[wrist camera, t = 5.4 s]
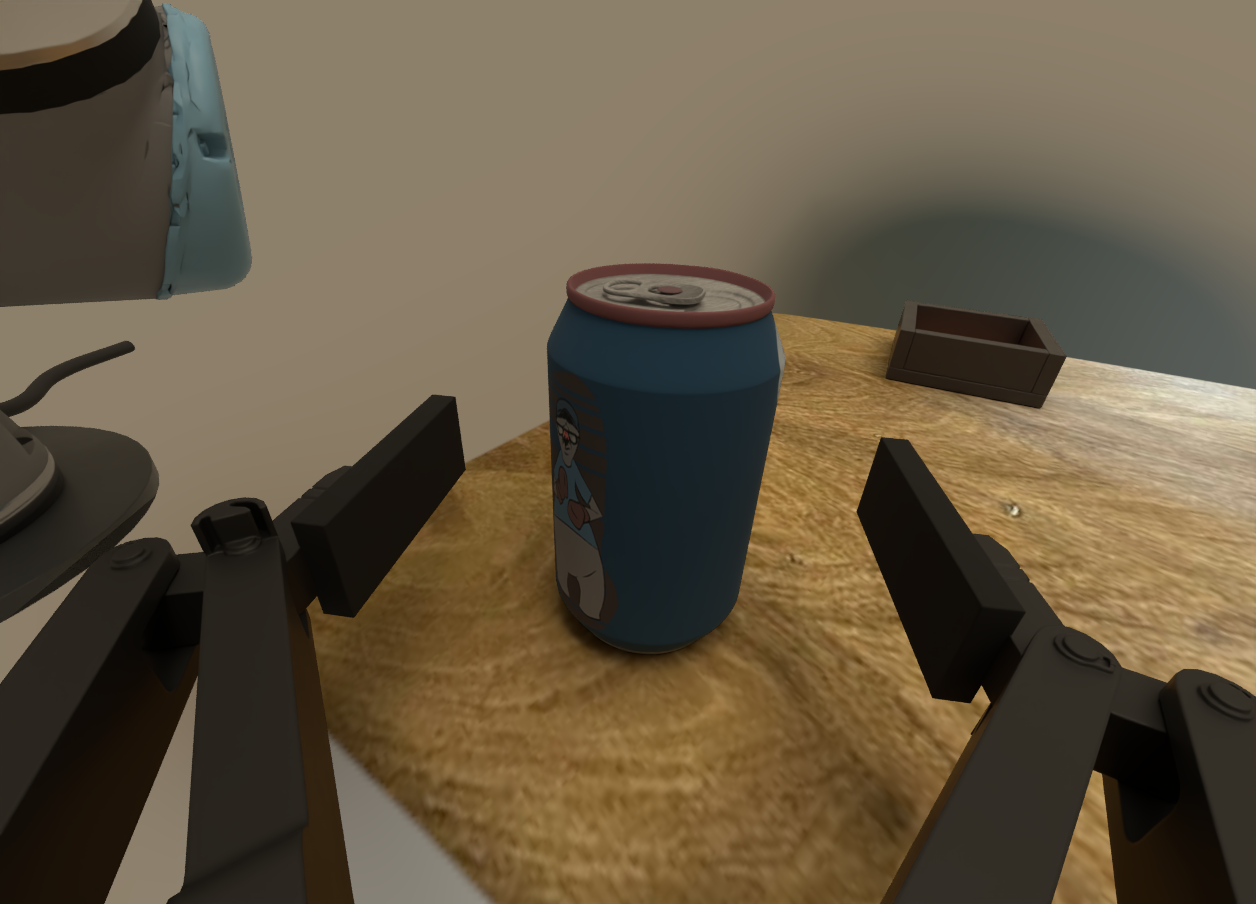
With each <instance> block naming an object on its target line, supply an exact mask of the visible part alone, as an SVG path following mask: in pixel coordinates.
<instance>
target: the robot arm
mask: <svg viewBox="0 0 1256 904" xmlns="http://www.w3.org/2000/svg"><path fill="white" fill-rule="evenodd" d="M251 263H252V257H251V248H250V242H249V236H248V230H247V224H246V218H245V213H244V207H243V202H242V196H241V191H240V186H239V180H238V175H237V169H236V164H235V158H234V153H233V148H232V143H231V138H230V133H229V128H228V123H227V117H226V111H225V106H224V101H223V96H222V91H221V86H220V81H219V76H218V71H217V66H216V61H215V57H214V53H213V49H212V45H211V40H210V35H209V31H208V29H207V27H206V26H205V24H204V23H203V22H202V21H201V20H200V19H198V18H197V17H196V16H194V15H192V14H187V13H184V12H182V11H179V10H178V9H177V8H175V7H171V4H162V6H158V7H154V6H153V4H152V1H151V0H0V307H6V306H25V305H44V304H63V303H82V302H101V301H119V300H136V299H137V300H138V299H158V300H161V299H168V298H170V297H171V296H172V295H179V294H187V293H195V292H204V291H212V290H220V289H227V288H230V287H232V286H235V284H237V283H239V282H241V281H242V280H243V279H244V278H245V277H246V275H247V274H248V272H249V271H250V268H251ZM134 350H135V347H134V345H133V344H132V343H131V342H129V341H123V342H121V343H118V344H115V345H112V346H109V347H106V348H103V349H100V350H97V351H94V352H91V353H88V354H85V355H82V356H79V357H76V358H74V359H71V360H69V361H66V362H64V363H61V364H59V365H57V366H55V367H53V368H51V369H49V370H47V371H46V372H44V373H42V374H41V375H40V376H39V377H38V378H37V379H35V380H34V381H33V382H32V383H31V384H30V386H29V387H28V388H27V389H26V390H25V391H24V392H23V393H22V394H20V395H19V396H17V397H15V398H13V399H11V400H8V401H6V402H2V403H0V545H1V544H2V543H4V542H5V541H7V540H9V539H10V538H12V537H13V536H15V535H16V534H18V533H19V532H20V531H22V530H23V529H25V528H26V527H27V526H29V525H30V524H31V523H32V522H34V521H35V520H36V519H37V518H38V517H40V516H41V515H42V514H43V513H44V512H45V511H46V510H47V509H48V508H49V507H50V506H51V505H52V504H53V503H54V501H55V500H56V499H57V497H58V496H59V494H60V492H61V491H62V488H63V485H64V476H63V473H62V471H61V470H60V468H59V466H58V465H57V463H56V462H55V460H54V458H53V457H52V455H51V453H50V452H49V450H48V449H47V447H46V446H45V445H44V444H42V443H41V442H40V441H39V440H38V439H37V438H36V437H35V436H34V435H32V434H31V433H30V432H29V431H27V430H26V429H24V428H22V427H19V426H18V425H17V424H16V423H14V421H13V420H11V419H10V418H9V417H10V416H13V415H17V414H19V413H22V412H24V411H26V410H28V409H30V408H31V407H33V406H34V405H35V404H37V403H38V402H39V401H40V400H41V399H42V398H43V397H44V396H45V394H46V393H47V392H48V391H49V389H50V388H51V387H52V386H53V385H54V384H56V383H57V382H58V381H60V380H62V379H64V378H66V377H68V376H70V375H72V374H74V373H76V372H78V371H81V370H83V369H86V368H88V367H91V366H94V365H96V364H99V363H102V362H105V361H108V360H110V359H113V358H116V357H119V356H122V355H124V354H127V353H130V352H132V351H134ZM465 470H466V469H465V462H464V455H463V448H462V442H461V434H460V427H459V419H458V412H457V405H456V398H455V397H452V396H442V395H431V397H429V398H428V399H427V400H426V401H425V402H424V403H423V404H421V405H420V406H419V407H418V408H417V409H416V410H415V411H414V412H412V413H411V414H410V415H409V416H408V417H407V418H406V419H405V420H404V421H402V422H401V423H400V424H399V425H398V426H397V427H396V428H395V429H394V430H392V431H391V432H390V433H389V434H388V435H387V436H386V437H385V438H384V439H383V440H381V441H380V442H379V443H378V444H377V445H376V446H375V447H373V448H372V449H371V450H370V451H369V452H368V453H367V454H366V455H364V456H363V457H362V458H361V459H360V460H359V461H358V462H357V463H356V464H354V465H353V466H343V467H341V468H339V469H337V470H335V471H333V472H331V473H329V474H327V475H325V476H324V477H323V478H322V479H321V480H320V481H318V482H317V483H316V484H315V485H314V486H313V488H312V489H309V490H308V491H307V492H305V493H304V494H303V495H302V497H301V498H298V499H297V500H296V501H295V502H294V503H293V504H291V505H290V506H289V507H288V508H287V509H286V510H284V511H283V512H282V513H281V514H280V515H279V516H277V517H276V518H275V519H274V520H273V521H272V519H271V516H270V514H269V511H268V509H267V506H266V504H265V503H264V501H262V500H259V499H257V498H238V499H231V500H228V501H224V502H221V503H218V504H216V505H214V506H212V507H210V508H208V509H206V510H204V511H202V512H201V513H200V514H199V515H198V516H197V517H195V518H194V520H193V522H192V524H191V527H192V529H193V531H194V533H195V535H196V537H197V539H198V542H199V544H200V545H201V548H202V550H203V551H204V552H199V553H189V554H179V555H176V554H175V552H174V550H173V548H172V547H171V545H170V544H169V542H168V541H167V540H165V539H161V538H143V539H139V540H134V541H129V542H126V543H124V544H120V545H118V546H116V547H114V548H113V549H111V550H109V551H107V552H106V553H104V554H102V555H101V556H100V557H99V558H97V559H96V560H95V561H94V562H93V563H92V564H91V565H90V567H89V568H88V569H87V571H86V572H85V573H84V575H83V576H82V577H81V579H80V580H79V581H78V582H77V584H76V585H75V587H74V588H73V589H72V590H71V592H70V593H69V594H68V596H67V597H66V598H65V600H64V601H63V602H62V603H61V605H60V606H59V607H58V609H57V610H56V611H55V613H54V614H53V615H52V617H51V618H50V619H49V621H48V622H47V623H46V625H45V626H44V627H43V628H42V630H41V631H40V632H39V634H38V635H37V636H36V638H35V639H34V640H33V642H32V643H31V644H30V646H29V647H28V648H27V650H26V651H25V652H24V653H23V655H22V656H21V657H20V659H19V660H18V661H17V663H16V664H15V665H14V667H13V668H12V669H11V670H10V672H9V673H8V674H7V676H6V677H5V678H4V680H3V681H2V682H1V684H0V904H104V903H105V901H106V898H107V896H108V893H109V891H110V888H111V886H112V884H113V881H114V878H115V876H116V874H117V871H118V869H119V867H120V864H121V862H122V859H123V857H124V854H125V852H126V849H127V847H128V845H129V842H130V840H131V837H132V835H133V832H134V830H135V827H136V825H137V823H138V820H139V818H140V815H141V813H142V810H143V808H144V805H145V803H146V800H147V798H148V796H149V793H150V791H151V788H152V786H153V783H154V781H155V778H156V776H157V774H158V771H159V769H160V766H161V764H162V761H163V759H164V756H165V754H166V752H167V749H168V747H169V744H170V742H171V739H172V737H173V734H174V732H175V730H176V727H177V724H178V722H179V720H180V717H181V715H182V712H183V710H184V708H185V705H186V702H187V700H188V698H189V695H190V693H191V690H192V688H193V686H194V683H195V681H196V678H197V676H198V683H197V697H196V712H195V713H196V714H195V728H194V743H193V758H192V774H191V788H190V789H191V790H190V803H189V819H188V834H187V849H186V864H185V876H184V883H183V886H182V889H181V891H180V892H179V893H178V894H176V895H174V896H173V897H171V898H170V899H168V902H167V903H166V904H354V899H353V893H352V887H351V880H350V874H349V868H348V861H347V854H346V848H345V841H344V835H343V829H342V822H341V816H340V809H339V803H338V796H337V789H336V783H335V777H334V770H333V763H332V757H331V752H330V744H329V738H328V731H327V725H326V718H325V712H324V705H323V699H322V692H321V686H320V679H319V673H318V666H317V660H316V653H315V647H314V640H313V634H312V627H311V621H310V617H309V614H308V612H307V609H306V608H307V607H308V606H309V605H310V603H311V602H312V601H313V600H314V599H315V598H316V596H317V597H318V599H319V602H320V605H321V607H322V610H323V613H324V614H331V615H338V616H345V617H352V618H354V617H355V616H356V614H357V613H358V612H359V610H360V609H361V608H362V606H363V605H364V604H365V602H366V601H367V600H368V598H369V597H370V596H371V594H372V593H373V592H374V591H375V589H376V588H377V587H378V585H379V584H380V583H381V581H382V580H383V579H384V577H385V576H386V575H387V573H388V572H389V571H390V569H391V568H392V567H393V565H394V564H395V563H396V561H397V560H398V559H399V557H400V556H401V555H402V553H403V552H404V551H405V549H406V548H407V547H408V545H409V544H410V543H411V541H412V540H413V539H414V537H415V536H416V535H417V533H418V532H419V531H420V529H421V528H422V527H423V525H424V524H425V523H426V521H427V520H428V519H429V517H430V516H431V515H432V514H433V512H434V511H435V510H436V508H437V507H438V506H439V504H440V503H441V502H442V500H443V499H444V498H445V496H446V495H447V494H448V492H449V491H450V490H451V488H452V487H453V486H454V484H455V483H456V482H457V480H458V479H459V478H460V476H461V475H462V474H463V472H464V471H465ZM857 514H858V517H859V519H860V522H861V524H862V526H863V529H864V531H865V534H866V536H867V539H868V541H869V544H870V546H871V548H872V551H873V553H874V556H875V558H876V561H877V563H878V566H879V568H880V571H881V573H882V575H883V578H884V580H885V583H886V585H887V588H888V590H889V593H890V595H891V597H892V600H893V602H894V605H895V607H896V610H897V612H898V615H899V617H900V620H901V622H902V624H903V627H904V629H905V632H906V634H907V637H908V639H909V642H910V644H911V646H912V649H913V651H914V654H915V656H916V659H917V661H918V664H919V666H920V669H921V671H922V673H923V676H924V678H925V681H926V683H927V686H928V688H929V691H930V693H931V695H932V698H935V699H942V700H950V701H957V702H964V703H971V701H972V700H973V698H974V696H975V695H976V693H977V692H978V690H979V688H980V687H981V685H982V687H983V688H984V690H985V692H986V694H987V696H988V698H989V700H990V702H991V703H990V705H989V706H988V708H987V709H986V711H985V712H984V714H983V715H982V717H981V719H980V720H979V722H978V723H977V725H976V726H975V728H974V729H973V731H972V733H971V735H972V736H971V738H970V740H969V742H968V743H967V745H966V747H965V749H964V751H963V753H962V754H961V756H960V758H959V760H958V762H957V764H956V765H955V767H954V769H953V771H952V773H951V775H950V776H949V778H948V780H947V782H946V784H945V786H944V787H943V789H942V791H941V793H940V795H939V797H938V798H937V800H936V802H935V804H934V806H933V808H932V809H931V811H930V813H929V815H928V817H927V819H926V820H925V822H924V824H923V826H922V828H921V830H920V831H919V833H918V835H917V837H916V839H915V841H914V842H913V844H912V846H911V848H910V850H909V852H908V853H907V855H906V857H905V859H904V861H903V863H902V864H901V866H900V868H899V870H898V872H897V874H896V875H895V877H894V879H893V881H892V883H891V885H890V886H889V888H888V890H887V892H886V894H885V896H884V897H883V899H882V901H881V903H880V904H1051V903H1052V900H1053V896H1054V893H1055V890H1056V887H1057V884H1058V880H1059V877H1060V874H1061V871H1062V867H1063V864H1064V861H1065V858H1066V855H1067V851H1068V848H1069V845H1070V842H1071V839H1072V835H1073V832H1074V829H1075V826H1076V822H1077V819H1078V816H1079V813H1080V810H1081V806H1082V803H1083V800H1084V797H1085V794H1086V790H1087V787H1088V784H1089V781H1090V777H1091V774H1092V771H1093V770H1094V771H1097V772H1099V773H1102V777H1103V786H1104V794H1105V803H1106V811H1107V820H1108V828H1109V837H1110V845H1111V854H1112V862H1113V871H1114V879H1115V888H1116V897H1117V904H1256V697H1255V696H1254V695H1253V694H1251V693H1250V692H1248V691H1247V690H1245V689H1243V688H1242V687H1241V686H1239V685H1237V684H1235V683H1233V682H1231V681H1229V680H1227V679H1224V678H1222V677H1220V676H1218V675H1216V674H1212V673H1209V672H1205V671H1202V670H1198V669H1183V670H1181V671H1180V672H1178V673H1176V674H1175V675H1174V676H1173V677H1172V679H1171V680H1170V681H1169V682H1168V683H1166V682H1163V681H1160V680H1157V679H1154V678H1151V677H1148V676H1145V675H1143V674H1140V673H1137V672H1134V671H1131V670H1128V669H1125V668H1122V667H1121V665H1120V664H1119V662H1118V661H1117V659H1116V658H1115V656H1114V655H1113V654H1112V653H1111V652H1110V651H1109V650H1108V649H1107V648H1105V647H1104V646H1103V645H1102V644H1101V643H1099V642H1098V641H1096V640H1095V639H1093V638H1091V637H1090V636H1088V635H1086V634H1084V633H1082V632H1080V631H1077V630H1075V629H1072V628H1070V627H1065V626H1064V625H1063V624H1062V622H1061V621H1060V620H1059V618H1058V617H1057V615H1056V614H1055V613H1054V611H1053V610H1052V609H1051V607H1050V606H1049V605H1048V603H1047V602H1046V601H1045V599H1044V598H1043V597H1042V595H1041V594H1040V593H1039V591H1038V590H1037V589H1036V587H1035V586H1034V585H1033V583H1030V582H1029V580H1030V579H1029V578H1028V577H1027V575H1026V574H1025V573H1024V571H1023V570H1022V569H1020V566H1019V564H1018V563H1017V562H1016V560H1015V559H1014V558H1013V556H1012V555H1011V554H1010V552H1009V551H1008V550H1007V549H1006V548H1004V547H1003V546H1002V545H1000V544H999V543H998V542H997V541H995V540H994V539H993V538H991V537H990V536H989V535H981V534H972V532H971V531H970V529H969V528H968V527H967V525H966V524H965V522H964V521H963V519H962V518H961V516H960V515H959V513H958V512H957V510H956V509H955V508H954V506H953V505H952V503H951V502H950V500H949V499H948V497H947V496H946V494H945V493H944V491H943V490H942V489H941V487H940V486H939V484H938V483H937V481H936V480H935V478H934V477H933V475H932V474H931V473H930V471H929V470H928V468H927V467H926V465H925V464H924V462H923V461H922V459H921V458H920V456H919V455H918V454H917V452H916V451H915V449H914V448H913V446H912V445H911V443H910V442H909V440H904V439H894V438H883V437H881V439H880V442H879V445H878V448H877V452H876V455H875V458H874V461H873V464H872V467H871V470H870V473H869V476H868V479H867V482H866V485H865V488H864V491H863V494H862V497H861V500H860V503H859V506H858V509H857Z"/></svg>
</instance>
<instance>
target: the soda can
mask: <svg viewBox="0 0 1256 904" xmlns="http://www.w3.org/2000/svg"><path fill="white" fill-rule="evenodd" d="M566 289H567V296H568V299H567V301H566V304H565V306H564V308H563V310H562V312H561V314H560V316H559V318H558V320H557V322H556V324H555V326H554V328H553V330H552V332H551V335H550V337H549V340H548V343H547V356H548V357H547V359H548V384H549V408H550V409H549V410H550V438H551V464H552V490H553V517H554V543H555V569H556V582H557V587H558V590H559V593H560V595H561V597H562V600H563V601H564V603H565V605H566V606H567V608H568V609H569V610H570V612H571V613H572V614H573V615H574V616H575V618H576V619H577V620H578V621H579V622H580V623H581V624H583V625H584V626H585V627H586V628H587V629H588V630H589V631H590V632H592V633H593V634H594V635H595V636H596V637H598V638H599V639H601V640H602V641H604V642H605V643H607V644H609V645H611V646H613V647H616V648H618V649H621V650H625V651H628V652H633V653H640V654H660V653H667V652H672V651H675V650H678V649H681V648H683V647H686V646H688V645H690V644H691V643H693V642H695V641H697V640H698V639H700V638H702V637H703V636H705V635H707V634H708V633H710V632H711V631H712V630H714V629H715V628H716V627H717V626H718V625H719V624H721V623H722V622H723V621H724V619H725V618H726V617H727V616H728V615H729V613H730V612H731V610H732V609H733V607H734V605H735V603H736V600H737V597H738V594H739V589H740V584H741V579H742V574H743V569H744V564H745V559H746V554H747V549H748V544H749V540H750V535H751V530H752V525H753V520H754V515H755V510H756V505H757V500H758V495H759V490H760V485H761V480H762V476H763V471H764V466H765V461H766V456H767V451H768V446H769V441H770V436H771V431H772V426H773V421H774V416H775V411H776V407H777V402H778V397H779V392H780V387H781V382H782V377H783V372H784V367H785V354H784V350H783V347H782V343H781V340H780V337H779V334H778V330H777V327H776V324H775V321H774V318H773V315H772V311H771V310H772V309H773V306H774V302H775V293H774V291H773V290H772V289H771V288H770V287H769V286H768V285H766V284H764V283H763V282H760V281H758V280H756V279H753V278H750V277H747V276H744V275H741V274H738V273H734V272H730V271H726V270H720V269H715V268H708V267H699V266H688V265H675V264H674V265H673V264H621V265H620V264H619V265H609V266H602V267H596V268H591V269H588V270H584V271H581V272H578V273H576V274H574V275H573V276H571V277H570V278H569V280H568V281H567V287H566Z"/></svg>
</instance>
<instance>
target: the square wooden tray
mask: <svg viewBox="0 0 1256 904" xmlns="http://www.w3.org/2000/svg"><path fill="white" fill-rule="evenodd" d="M1066 357H1067V356H1066V355H1065V353H1064V352H1063V350H1062V349H1061V347H1060V346H1059V344H1058V343H1057V342H1056V340H1055V339H1054V337H1053V336H1052V334H1051V333H1050V331H1049V330H1048V328H1047V327H1046V325H1045V324H1044V323H1043V321H1042V320H1041V319H1035V318H1026V317H1020V316H1013V315H1006V314H999V313H991V312H984V311H977V310H970V309H963V308H955V307H949V306H941V305H934V304H927V303H920V302H914V301H906V302H905V305H904V309H903V311H902V315H901V318H900V321H899V324H898V328H897V331H896V334H895V337H894V341H893V345H892V350H891V355H890V359H889V364H888V369H887V374H886V378H887V379H892V380H897V381H902V382H908V383H913V384H918V385H923V386H928V387H933V388H939V389H944V390H949V391H954V392H959V393H964V394H970V395H975V396H980V397H985V398H990V399H995V400H1001V401H1006V402H1011V403H1016V404H1021V405H1026V406H1032V407H1037V408H1041V407H1042V405H1043V403H1044V401H1045V399H1046V397H1047V395H1048V393H1049V391H1050V389H1051V387H1052V385H1053V383H1054V381H1055V379H1056V377H1057V375H1058V373H1059V371H1060V369H1061V367H1062V365H1063V363H1064V361H1065V359H1066Z"/></svg>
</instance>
